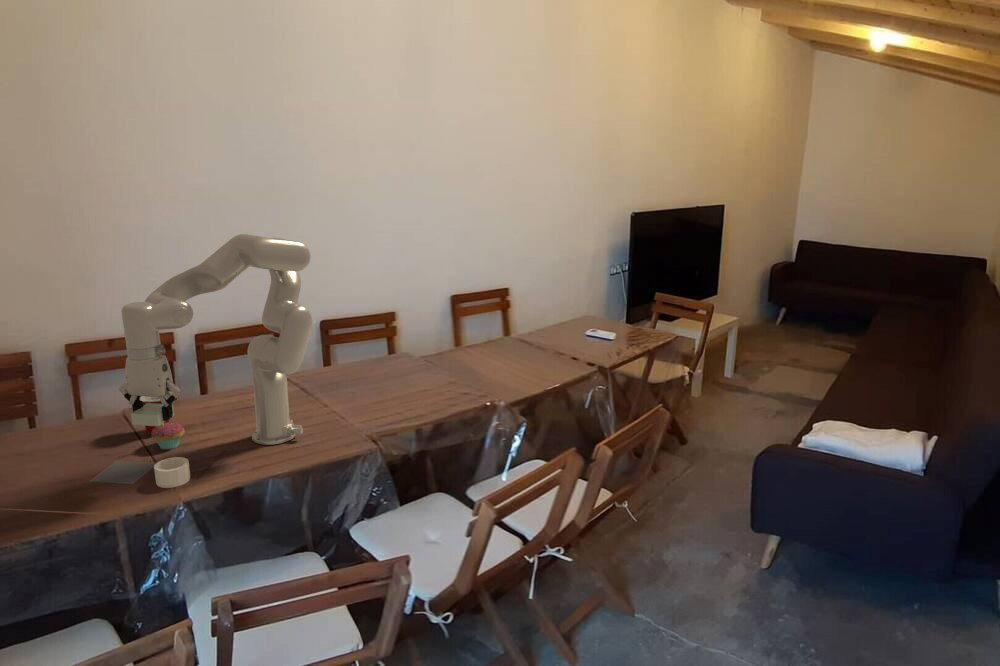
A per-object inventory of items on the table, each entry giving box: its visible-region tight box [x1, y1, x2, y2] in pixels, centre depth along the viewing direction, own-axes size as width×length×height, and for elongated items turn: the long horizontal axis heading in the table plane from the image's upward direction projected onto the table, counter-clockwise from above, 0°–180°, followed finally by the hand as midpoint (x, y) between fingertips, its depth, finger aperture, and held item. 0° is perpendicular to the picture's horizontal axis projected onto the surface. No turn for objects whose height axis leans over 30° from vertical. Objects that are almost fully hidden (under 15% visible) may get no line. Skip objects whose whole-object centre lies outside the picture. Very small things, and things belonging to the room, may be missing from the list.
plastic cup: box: [140, 391, 173, 435], centre depth 202 cm, size 11×11×12 cm
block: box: [130, 403, 175, 427], centre depth 170 cm, size 7×7×3 cm
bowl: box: [153, 456, 191, 489], centre depth 173 cm, size 8×8×5 cm
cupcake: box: [150, 421, 185, 450], centre depth 192 cm, size 9×8×12 cm
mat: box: [88, 460, 157, 485], centre depth 177 cm, size 12×12×1 cm
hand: (153, 417), depth 170 cm, fingers closed on block, 7 cm apart
